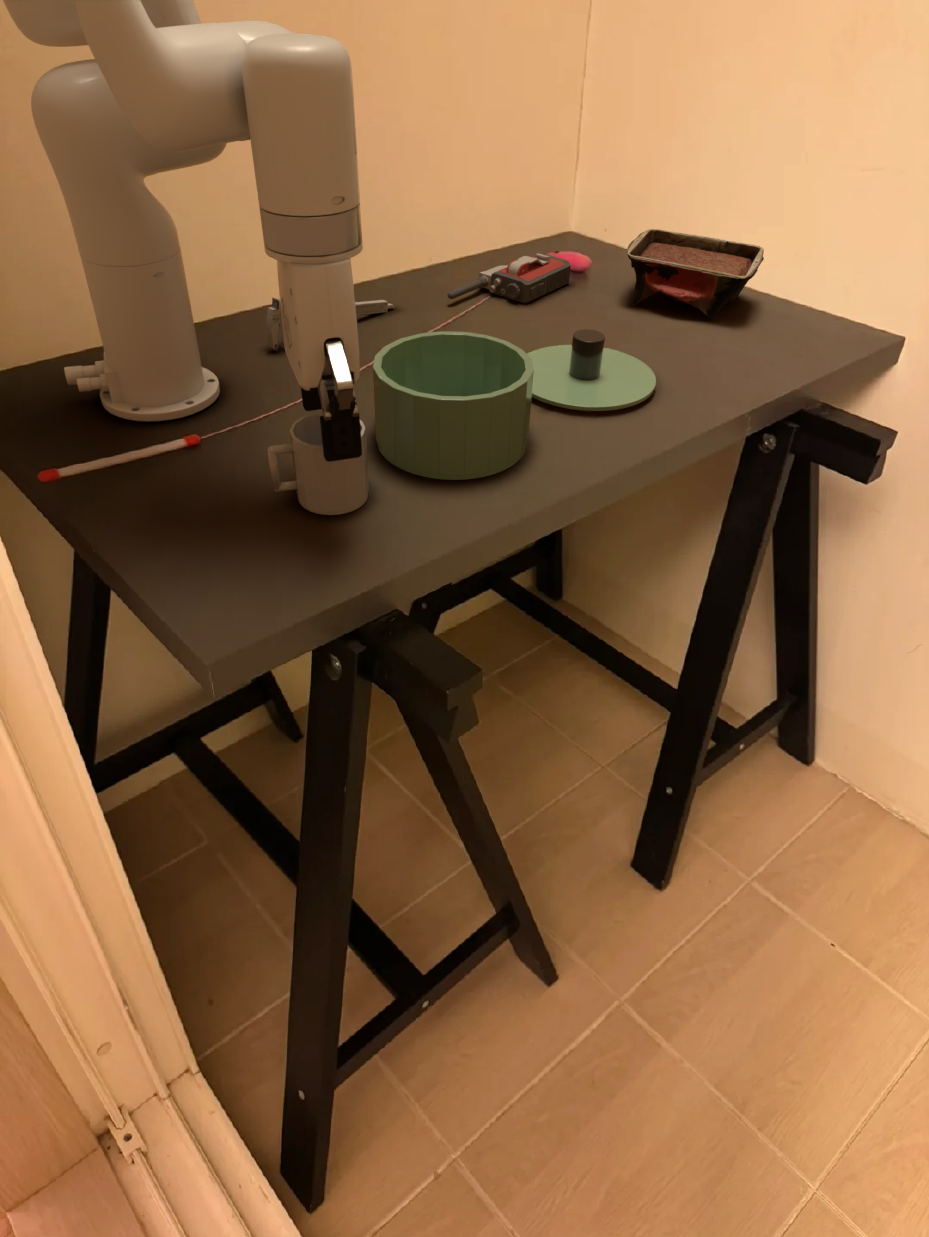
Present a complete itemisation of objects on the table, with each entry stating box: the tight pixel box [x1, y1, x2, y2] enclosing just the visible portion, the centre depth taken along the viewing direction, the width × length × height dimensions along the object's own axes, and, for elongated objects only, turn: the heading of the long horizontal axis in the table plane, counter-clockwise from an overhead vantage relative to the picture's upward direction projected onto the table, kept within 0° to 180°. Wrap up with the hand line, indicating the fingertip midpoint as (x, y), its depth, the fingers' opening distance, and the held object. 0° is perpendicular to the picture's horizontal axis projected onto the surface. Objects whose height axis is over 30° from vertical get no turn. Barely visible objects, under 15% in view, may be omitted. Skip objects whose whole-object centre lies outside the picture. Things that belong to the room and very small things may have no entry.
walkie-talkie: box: [446, 252, 572, 304], centre depth 122 cm, size 9×4×20 cm
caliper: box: [265, 296, 396, 351], centre depth 110 cm, size 20×1×6 cm, turn 138°
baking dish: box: [626, 228, 765, 319], centre depth 121 cm, size 14×18×10 cm
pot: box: [372, 330, 534, 481], centre depth 88 cm, size 16×16×8 cm
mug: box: [266, 411, 370, 516], centre depth 80 cm, size 9×7×7 cm
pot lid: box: [526, 328, 657, 412], centre depth 100 cm, size 17×17×6 cm
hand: (331, 431), depth 78 cm, fingers open, 9 cm apart
